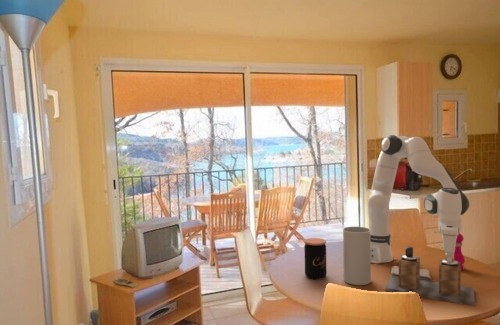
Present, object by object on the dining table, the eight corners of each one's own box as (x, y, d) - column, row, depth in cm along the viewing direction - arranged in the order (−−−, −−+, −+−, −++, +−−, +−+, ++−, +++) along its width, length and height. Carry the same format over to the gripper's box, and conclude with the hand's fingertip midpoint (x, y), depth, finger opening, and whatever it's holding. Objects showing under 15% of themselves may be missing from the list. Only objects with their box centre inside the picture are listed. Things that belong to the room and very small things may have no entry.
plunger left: (401, 282, 165) (401, 248, 164) (402, 277, 170) (402, 245, 169) (416, 284, 162) (415, 250, 161) (417, 279, 167) (417, 246, 166)
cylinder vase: (367, 287, 168) (366, 234, 166) (340, 283, 174) (339, 231, 173) (373, 278, 178) (373, 228, 177) (348, 274, 185) (347, 225, 183)
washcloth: (391, 270, 191) (391, 264, 190) (429, 274, 184) (429, 268, 183) (390, 278, 180) (390, 271, 180) (431, 282, 173) (431, 276, 172)
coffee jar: (313, 281, 177) (313, 244, 176) (300, 274, 186) (300, 239, 185) (331, 277, 182) (330, 241, 181) (317, 270, 191) (317, 236, 190)
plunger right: (441, 288, 157) (441, 252, 156) (441, 283, 162) (442, 249, 161) (457, 290, 154) (457, 254, 153) (457, 285, 159) (457, 250, 158)
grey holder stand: (385, 291, 163) (385, 261, 162) (390, 279, 177) (390, 251, 176) (475, 305, 147) (475, 272, 146) (473, 291, 161) (473, 260, 160)
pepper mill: (466, 271, 185) (467, 231, 184) (451, 270, 186) (451, 231, 185) (461, 266, 192) (461, 228, 191) (446, 265, 193) (446, 228, 192)
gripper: (441, 220, 167) (441, 250, 168) (440, 230, 149) (440, 264, 150) (457, 221, 164) (457, 252, 165) (458, 232, 146) (458, 266, 147)
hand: (449, 258), depth 157 cm, fingers open, 8 cm apart
